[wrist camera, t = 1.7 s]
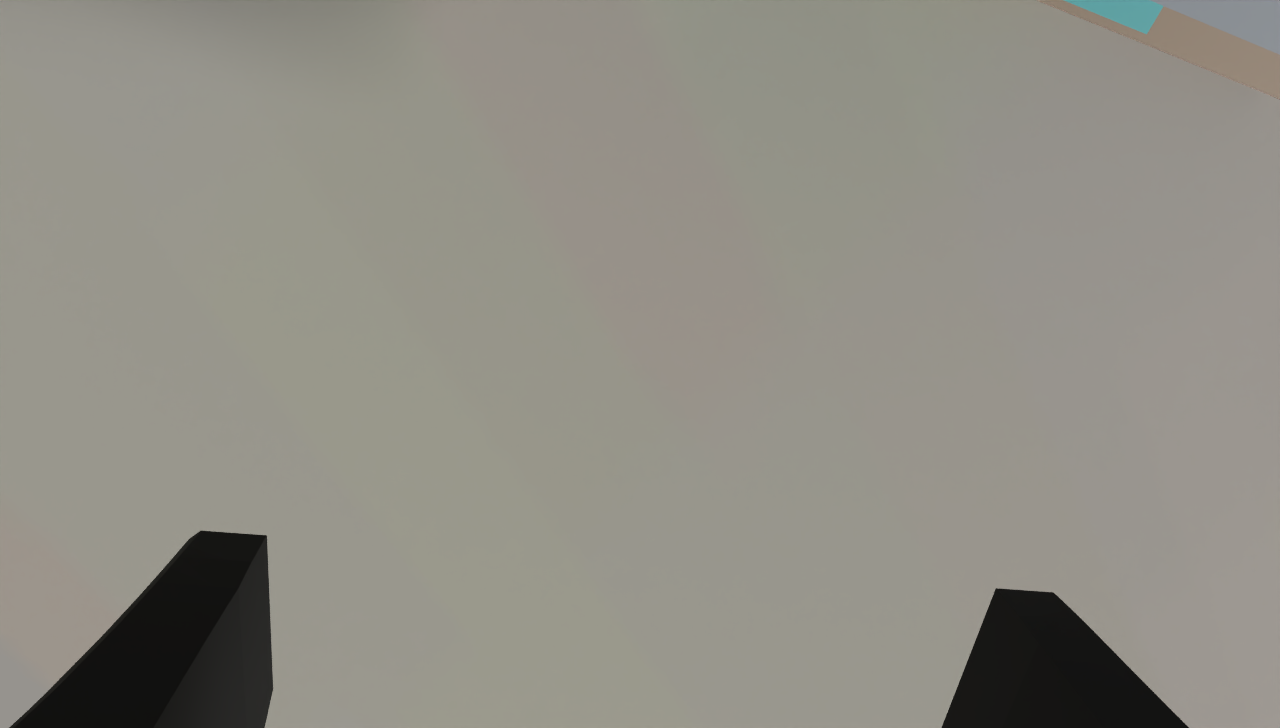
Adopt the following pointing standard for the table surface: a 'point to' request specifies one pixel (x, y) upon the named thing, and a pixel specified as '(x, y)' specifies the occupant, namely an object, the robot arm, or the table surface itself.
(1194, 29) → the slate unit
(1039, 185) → the table surface
